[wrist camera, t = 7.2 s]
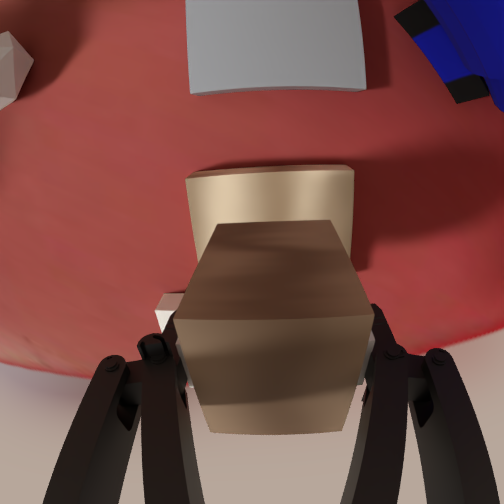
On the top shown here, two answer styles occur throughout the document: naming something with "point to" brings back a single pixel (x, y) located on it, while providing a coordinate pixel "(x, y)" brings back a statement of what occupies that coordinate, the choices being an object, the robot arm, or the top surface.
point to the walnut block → (274, 328)
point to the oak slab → (271, 198)
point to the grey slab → (274, 45)
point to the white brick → (167, 307)
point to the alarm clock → (461, 44)
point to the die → (12, 68)
